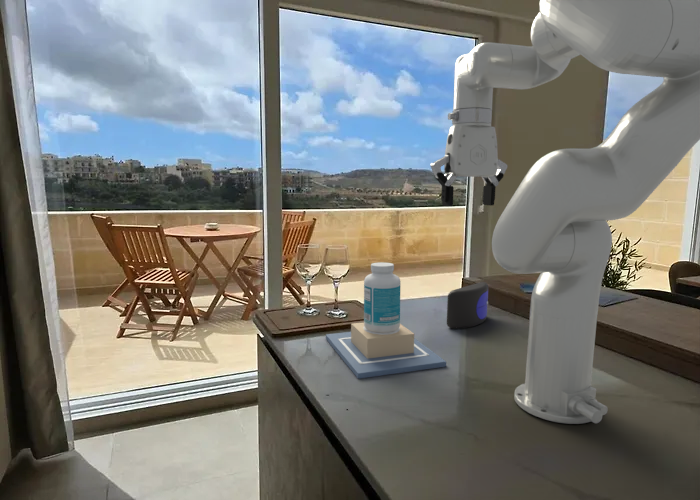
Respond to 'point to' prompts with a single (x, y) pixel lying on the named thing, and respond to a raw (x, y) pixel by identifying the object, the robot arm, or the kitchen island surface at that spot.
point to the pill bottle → (382, 299)
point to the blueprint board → (384, 365)
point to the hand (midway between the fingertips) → (468, 205)
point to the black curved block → (467, 306)
